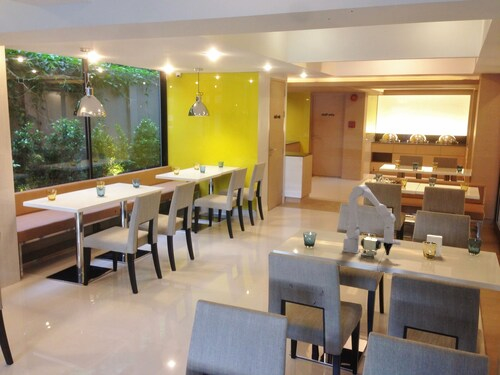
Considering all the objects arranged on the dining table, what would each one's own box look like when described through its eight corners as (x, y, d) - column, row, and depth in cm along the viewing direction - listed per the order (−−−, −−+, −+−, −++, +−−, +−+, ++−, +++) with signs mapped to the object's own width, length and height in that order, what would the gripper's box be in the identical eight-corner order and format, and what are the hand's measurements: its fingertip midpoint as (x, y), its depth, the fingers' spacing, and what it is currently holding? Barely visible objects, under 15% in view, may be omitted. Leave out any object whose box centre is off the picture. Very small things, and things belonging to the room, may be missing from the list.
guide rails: (360, 256, 280) (360, 254, 280) (363, 252, 290) (363, 249, 290) (373, 258, 277) (373, 256, 277) (376, 253, 287) (376, 251, 287)
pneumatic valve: (378, 258, 277) (379, 239, 275) (360, 255, 284) (361, 236, 282) (381, 256, 282) (382, 237, 280) (363, 253, 288) (364, 234, 287)
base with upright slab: (441, 253, 290) (442, 235, 288) (440, 257, 282) (442, 238, 280) (426, 251, 294) (427, 233, 292) (425, 255, 286) (426, 236, 284)
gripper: (375, 233, 276) (374, 255, 278) (400, 236, 270) (399, 258, 272) (377, 231, 282) (376, 251, 284) (401, 233, 276) (400, 255, 278)
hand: (387, 254), depth 278 cm, fingers closed
